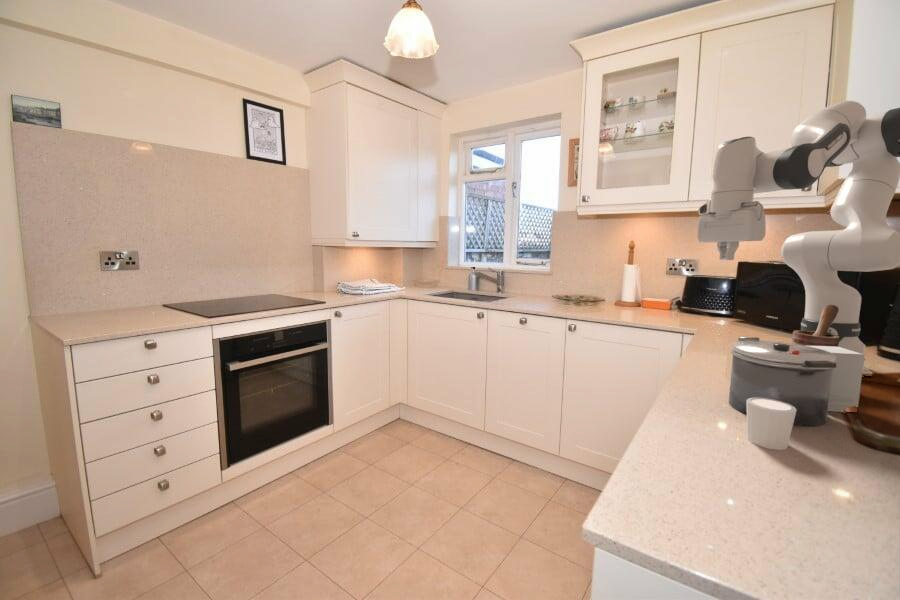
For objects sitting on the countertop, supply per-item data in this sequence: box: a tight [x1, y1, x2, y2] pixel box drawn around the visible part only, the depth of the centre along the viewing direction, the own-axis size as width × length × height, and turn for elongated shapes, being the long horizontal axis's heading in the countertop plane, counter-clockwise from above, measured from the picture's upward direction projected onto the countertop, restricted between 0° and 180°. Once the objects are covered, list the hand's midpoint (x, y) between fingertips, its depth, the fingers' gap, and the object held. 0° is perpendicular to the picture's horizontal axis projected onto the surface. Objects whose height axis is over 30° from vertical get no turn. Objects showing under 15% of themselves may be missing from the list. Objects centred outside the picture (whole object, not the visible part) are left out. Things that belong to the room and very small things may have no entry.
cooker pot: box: [728, 349, 833, 428], centre depth 84 cm, size 17×17×12 cm
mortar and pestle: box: [791, 305, 839, 347], centre depth 101 cm, size 12×9×20 cm
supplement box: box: [808, 346, 865, 413], centre depth 87 cm, size 7×7×13 cm
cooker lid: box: [731, 336, 837, 368], centre depth 83 cm, size 20×17×2 cm
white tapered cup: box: [746, 398, 796, 451], centre depth 70 cm, size 7×7×7 cm
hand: (726, 260), depth 103 cm, fingers closed
